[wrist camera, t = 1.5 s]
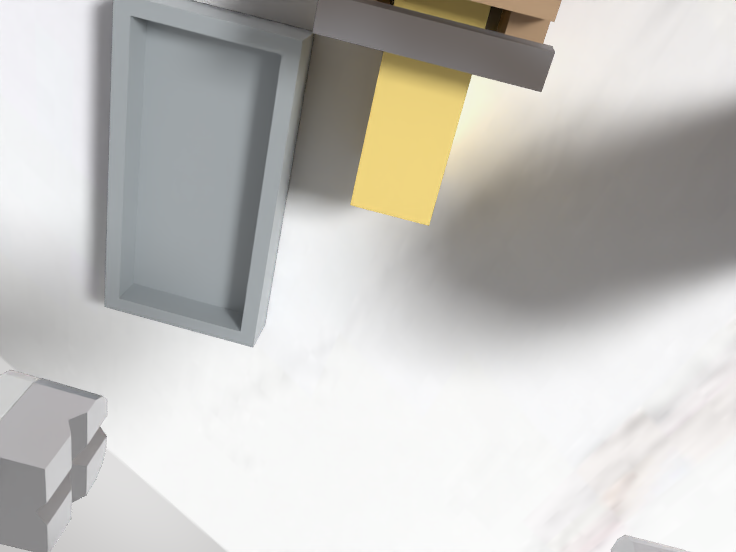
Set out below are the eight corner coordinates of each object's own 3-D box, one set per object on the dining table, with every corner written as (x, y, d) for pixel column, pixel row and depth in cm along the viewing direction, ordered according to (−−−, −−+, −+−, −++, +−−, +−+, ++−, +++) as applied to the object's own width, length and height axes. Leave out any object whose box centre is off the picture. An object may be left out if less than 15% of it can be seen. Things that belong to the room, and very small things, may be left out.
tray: (264, 325, 35) (253, 347, 33) (123, 286, 35) (104, 306, 33) (314, 31, 28) (302, 40, 26) (137, -14, 28) (113, -9, 26)
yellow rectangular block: (438, 178, 30) (428, 227, 25) (371, 161, 30) (349, 206, 25) (509, -76, 25) (513, -71, 20) (428, -96, 25) (414, -96, 21)
